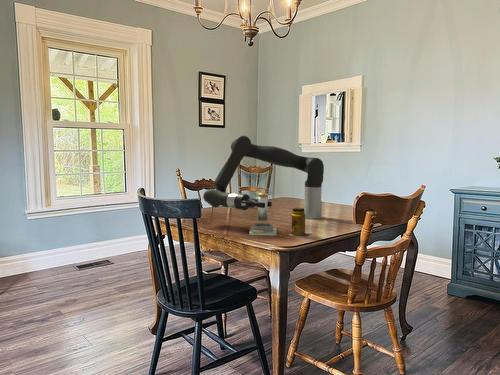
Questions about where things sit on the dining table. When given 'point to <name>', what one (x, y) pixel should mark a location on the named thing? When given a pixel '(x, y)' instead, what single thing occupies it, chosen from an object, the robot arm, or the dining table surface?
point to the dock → (263, 229)
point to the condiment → (298, 223)
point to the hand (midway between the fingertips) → (267, 204)
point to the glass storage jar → (263, 211)
